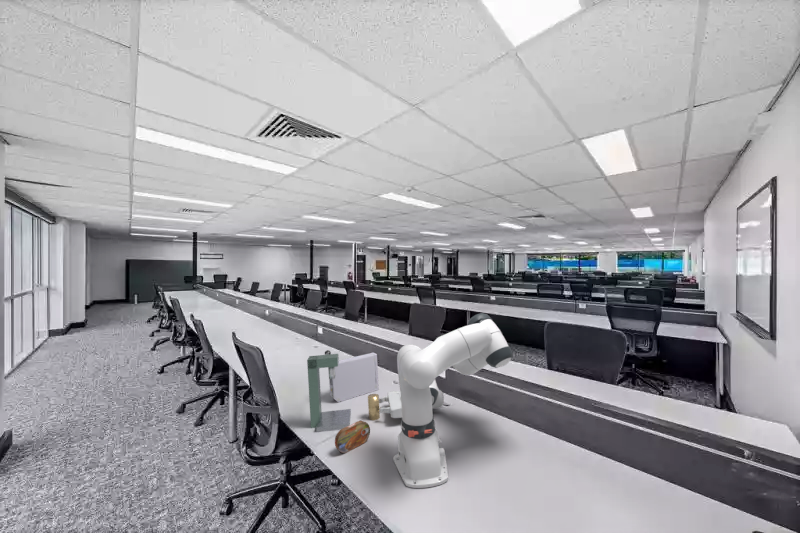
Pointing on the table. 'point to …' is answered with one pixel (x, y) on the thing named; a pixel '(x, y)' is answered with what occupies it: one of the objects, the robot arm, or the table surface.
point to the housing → (373, 406)
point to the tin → (352, 436)
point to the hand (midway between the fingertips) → (379, 405)
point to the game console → (355, 377)
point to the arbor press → (317, 417)
